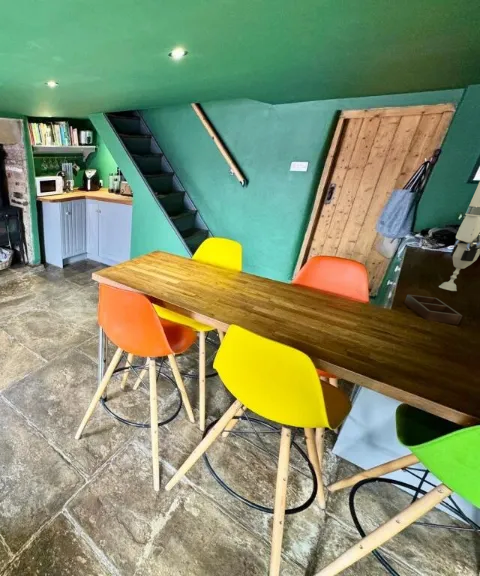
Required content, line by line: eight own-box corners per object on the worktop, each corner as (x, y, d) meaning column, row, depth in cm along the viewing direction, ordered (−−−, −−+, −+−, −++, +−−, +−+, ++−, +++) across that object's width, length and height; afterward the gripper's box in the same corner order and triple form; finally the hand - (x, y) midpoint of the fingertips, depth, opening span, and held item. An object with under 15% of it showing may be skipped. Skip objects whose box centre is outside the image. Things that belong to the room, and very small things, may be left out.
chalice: (462, 289, 122) (486, 246, 115) (459, 293, 118) (484, 248, 111) (436, 283, 127) (458, 242, 120) (433, 286, 124) (455, 244, 117)
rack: (432, 308, 137) (436, 297, 135) (457, 327, 121) (462, 315, 119) (403, 304, 141) (407, 294, 139) (423, 322, 125) (428, 311, 123)
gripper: (514, 215, 103) (489, 265, 109) (481, 209, 117) (461, 254, 124) (482, 214, 106) (460, 263, 112) (454, 208, 120) (436, 252, 127)
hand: (461, 258), depth 118 cm, fingers closed on chalice, 6 cm apart
